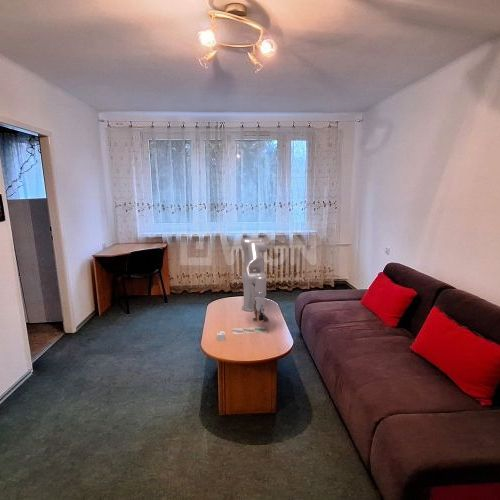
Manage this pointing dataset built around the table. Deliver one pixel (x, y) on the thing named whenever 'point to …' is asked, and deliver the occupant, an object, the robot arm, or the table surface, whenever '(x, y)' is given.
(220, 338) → the die
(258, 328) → the game board
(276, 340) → the table surface
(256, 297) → the robot arm
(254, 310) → the worn brown figurine
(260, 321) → the pink cylindrical peg
